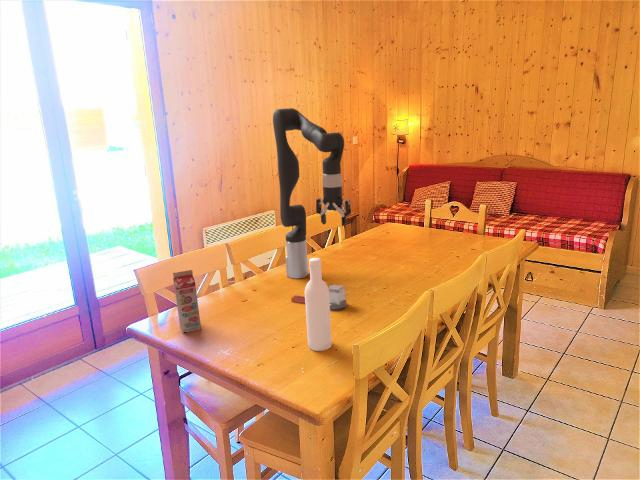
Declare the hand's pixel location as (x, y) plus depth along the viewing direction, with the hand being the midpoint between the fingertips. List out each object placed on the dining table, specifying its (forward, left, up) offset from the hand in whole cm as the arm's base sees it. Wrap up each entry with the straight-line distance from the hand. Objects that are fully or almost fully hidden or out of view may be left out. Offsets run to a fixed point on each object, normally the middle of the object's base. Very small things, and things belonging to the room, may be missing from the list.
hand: (333, 224), depth 196 cm
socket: (+5, -13, -28) cm, 31 cm away
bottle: (+13, -44, -30) cm, 54 cm away
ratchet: (-2, -13, -30) cm, 32 cm away
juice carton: (-38, -48, -30) cm, 68 cm away
